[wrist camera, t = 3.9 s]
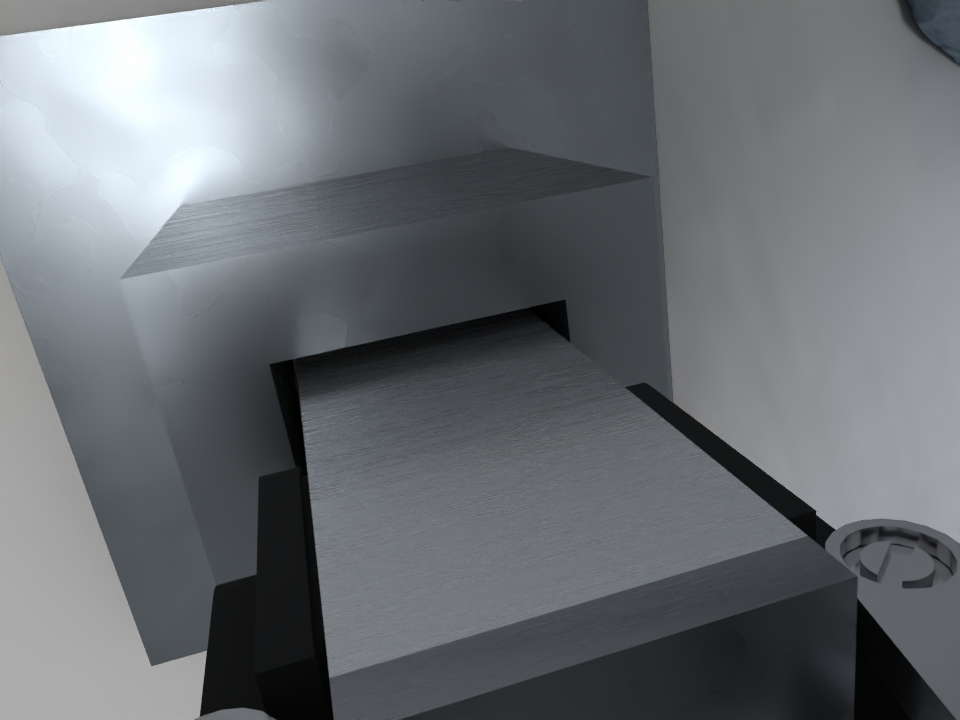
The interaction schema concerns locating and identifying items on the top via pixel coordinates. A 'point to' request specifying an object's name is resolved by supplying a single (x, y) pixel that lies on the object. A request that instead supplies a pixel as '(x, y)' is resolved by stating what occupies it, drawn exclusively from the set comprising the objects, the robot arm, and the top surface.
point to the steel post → (550, 546)
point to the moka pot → (940, 23)
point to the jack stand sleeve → (306, 233)
